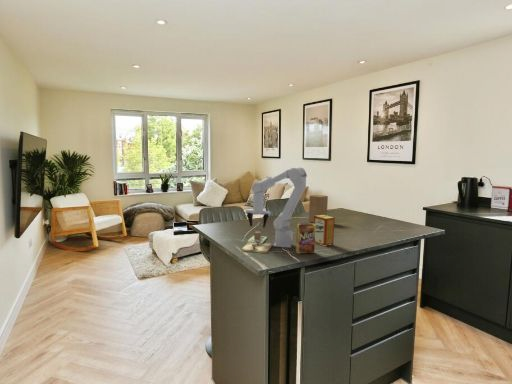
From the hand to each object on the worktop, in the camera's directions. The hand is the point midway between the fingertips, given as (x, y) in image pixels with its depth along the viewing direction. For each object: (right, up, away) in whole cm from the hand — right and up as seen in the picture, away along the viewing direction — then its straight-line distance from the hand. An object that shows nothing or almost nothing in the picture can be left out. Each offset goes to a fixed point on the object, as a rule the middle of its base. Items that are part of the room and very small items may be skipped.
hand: (257, 226), depth 188 cm
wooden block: (+45, -3, +57) cm, 73 cm away
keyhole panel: (0, -8, +1) cm, 8 cm away
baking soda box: (+37, -10, -2) cm, 38 cm away
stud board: (0, -10, -15) cm, 18 cm away
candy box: (+24, -11, -21) cm, 34 cm away
